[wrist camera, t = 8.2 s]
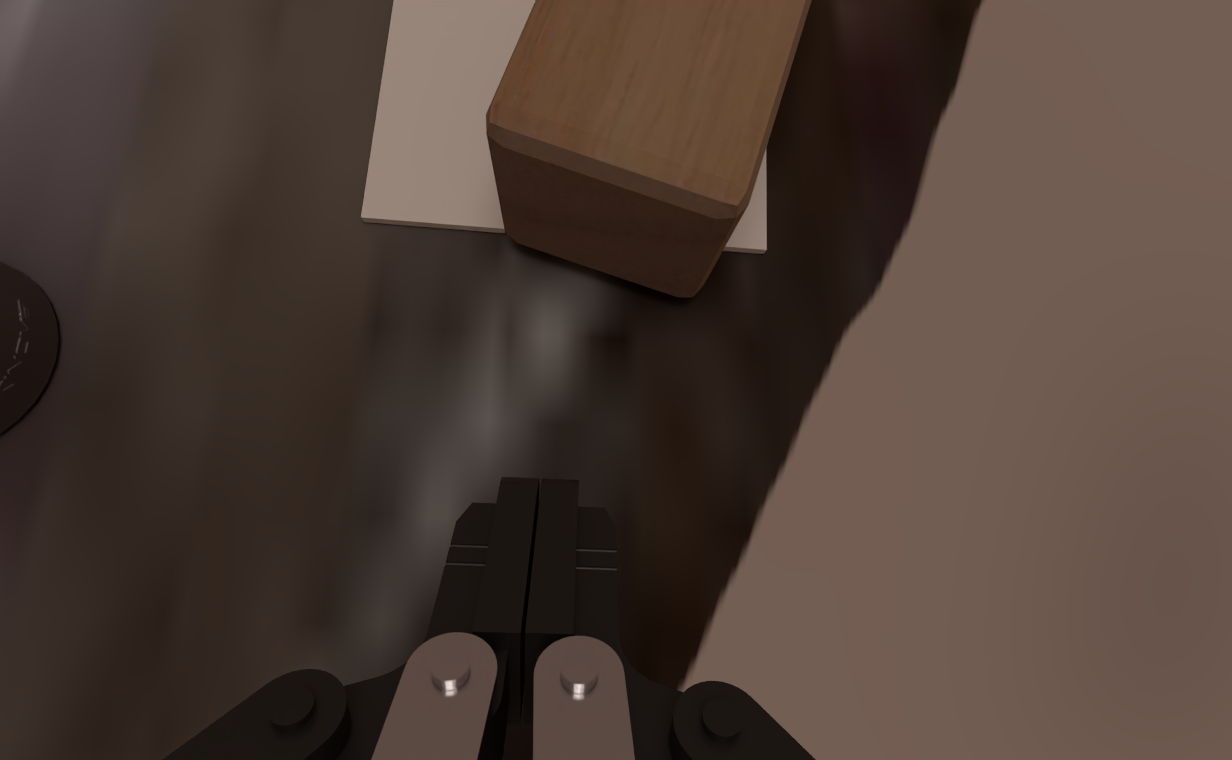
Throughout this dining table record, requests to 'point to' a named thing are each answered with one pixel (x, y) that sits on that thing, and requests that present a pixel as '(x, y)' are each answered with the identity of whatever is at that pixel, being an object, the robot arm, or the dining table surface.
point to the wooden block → (639, 130)
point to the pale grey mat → (460, 120)
